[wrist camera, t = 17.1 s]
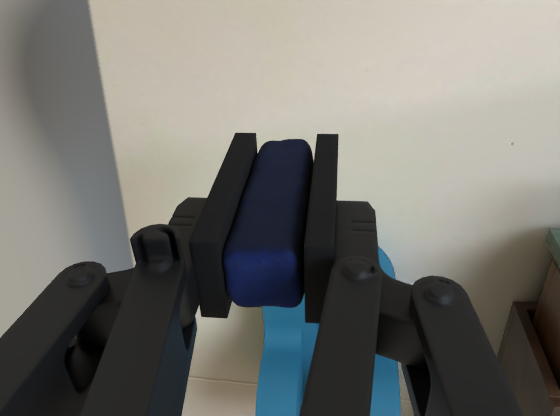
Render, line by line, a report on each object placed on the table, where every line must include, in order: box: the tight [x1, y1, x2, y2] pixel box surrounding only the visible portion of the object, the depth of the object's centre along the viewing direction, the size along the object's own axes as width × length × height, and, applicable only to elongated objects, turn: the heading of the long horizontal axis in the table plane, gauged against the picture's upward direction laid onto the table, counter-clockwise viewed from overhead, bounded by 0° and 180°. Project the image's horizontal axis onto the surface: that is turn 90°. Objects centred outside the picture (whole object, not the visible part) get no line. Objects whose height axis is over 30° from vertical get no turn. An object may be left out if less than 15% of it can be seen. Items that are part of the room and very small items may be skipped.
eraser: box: [222, 139, 314, 308], centre depth 16 cm, size 2×2×7 cm
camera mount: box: [256, 247, 401, 416], centre depth 39 cm, size 18×10×10 cm, turn 4°
